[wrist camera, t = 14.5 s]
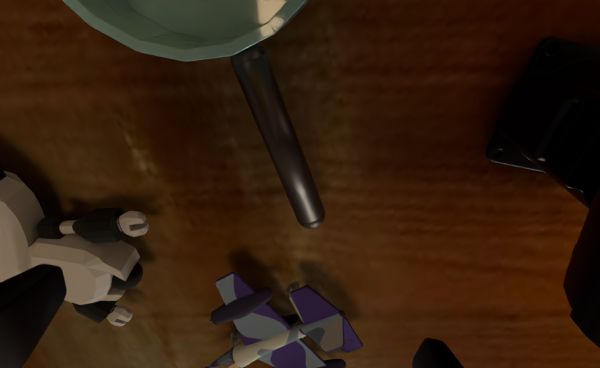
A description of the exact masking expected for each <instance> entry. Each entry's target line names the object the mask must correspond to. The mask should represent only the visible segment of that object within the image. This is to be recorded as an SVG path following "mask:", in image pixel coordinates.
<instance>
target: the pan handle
mask: <svg viewBox="0 0 600 368" xmlns="http://www.w3.org/2000/svg"><path fill="white" fill-rule="evenodd" d="M231 64H232V67H233V69H234V72H235V74H236V76H237V79H238V81H239V84H240V86H241V88H242V91H243V93H244V95H245V98H246V100H247V102H248V105H249V107H250V109H251V112H252V114H253V116H254V119H255V121H256V124H257V126H258V128H259V131H260V133H261V135H262V138H263V140H264V142H265V145H266V147H267V149H268V152H269V154H270V157H271V159H272V161H273V164H274V166H275V168H276V171H277V173H278V175H279V178H280V180H281V182H282V185H283V187H284V189H285V192H286V194H287V197H288V199H289V201H290V204H291V206H292V208H293V211H294V213H295V215H296V218H297V220H298V222H299V223H300V224H301V225H302V226H303V227H305V228H308V229H313V228H316V227H318V226H320V225H321V224H322V223H323V221H324V218H325V210H324V207H323V205H322V202H321V199H320V197H319V194H318V191H317V189H316V186H315V183H314V181H313V178H312V175H311V173H310V170H309V167H308V165H307V162H306V159H305V157H304V154H303V151H302V149H301V146H300V143H299V141H298V138H297V135H296V133H295V130H294V127H293V125H292V122H291V119H290V117H289V114H288V111H287V109H286V106H285V103H284V101H283V98H282V95H281V93H280V90H279V87H278V84H277V82H276V79H275V76H274V74H273V71H272V68H271V66H270V63H269V60H268V58H267V55H266V53H265V50H264V49H263V47H262V46H261V45H260V44H258V43H256V44H254V45H252V46H250V47H249V48H247V49H245V50H243V51H241V52H239V53H237V54H235V55H232V56H231Z"/></svg>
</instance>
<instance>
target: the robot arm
mask: <svg viewBox="0 0 600 368" xmlns="http://www.w3.org/2000/svg"><path fill="white" fill-rule="evenodd" d="M552 44H553V45H554V48H553V50H552V52H550V53H549V54H547V48H548V47H549V46H550V45H552ZM496 127H497V129H496V131H495V133H494V135H493V137H492V139H491V141H490V143H489V145H488V147H487V149H486V152H485V153H486V156H487V157H488V158H489V159H490V160H491V161H493V162H497V163H502V164H506V165H511V166H516V167H521V168H526V169H531V170H535V171H540V172H545V173H547V174H548V175H549V176H550V177H552V178H553V179H554V180H555V181H556V182H558V183H559V184H560V185H561V186H562V187H564V188H565V189H566V190H567V191H568V192H570V193H571V194H572V195H573V196H574V197H575V198H577V199H578V200H579V201H580V202H581V203H583V204H584V205H585V206H586V207H587V208H589V212H588V215H587V217H586V220H585V223H584V225H583V228H582V231H581V233H580V236H579V239H578V241H577V244H576V245H575V247H574V249H573V252H572V257H571V260H570V263H569V265H568V268H567V271H566V275H565V279H564V284H563V287H564V290H565V292H566V295H567V298H568V301H569V304H570V306H571V308H572V312H571V314H570V316H571V318H572V320H573V321H574V322H575V323H576V324H577V326H578V327H579V328H580V329H581V331H582V332H583V333H584V334H585V335H586V336H587V337H588V338H589V339H590V340H591V341H592V342H593V343H595V344H596V345H597V346H598V347H599V348H600V47H597V46H592V45H587V44H583V43H578V42H573V41H569V40H564V39H559V38H554V37H549V38H546V39H544V40H543V41H542V42H541V43H540V44H539V45H538V47H537V49H536V51H535V53H534V55H533V57H532V59H531V61H530V63H529V65H528V67H527V69H526V71H525V73H524V75H523V77H522V78H520V79H519V80H518V81H517V83H516V85H515V87H514V89H513V91H512V93H511V95H510V97H509V99H508V101H507V103H506V105H505V107H504V109H503V111H502V113H501V115H500V117H499V119H498V121H497V123H496ZM496 150H500V151H499V153H498V154H496V155H493V153H494V151H496ZM66 293H67V288H66V283H65V279H64V275H63V270H62V268H61V267H59V266H55V265H50V264H39V265H37V266H35V267H33V268H30V269H28V270H26V271H24V272H22V273H20V274H17V275H15V276H13V277H11V278H9V279H7V280H4V281H2V282H0V368H22V367H23V365H24V364H25V362H26V361H27V360H28V358H29V356H30V355H31V353H32V352H33V350H34V349H35V347H36V345H37V344H38V342H39V340H40V339H41V337H42V335H43V334H44V332H45V331H46V329H47V327H48V326H49V324H50V322H51V321H52V319H53V317H54V316H55V314H56V312H57V311H58V309H59V307H60V306H61V304H62V303H63V301H64V299H65V297H66ZM412 368H464V367H463V366H462V365H461V363H460V362H459V361H458V359H457V358H456V357H455V356H454V354H453V353H452V352H451V350H450V349H449V348H448V347H447V345H446V344H445V343H444V342H443V341H441V340H437V339H432V338H426V339H424V340H423V342H422V344H421V345H420V347H419V349H418V351H417V352H416V354H415V356H414V358H413V364H412Z"/></svg>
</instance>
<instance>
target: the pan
mask: <svg viewBox="0 0 600 368" xmlns="http://www.w3.org/2000/svg"><path fill="white" fill-rule="evenodd" d="M62 1H63V2H64V3H66V4H67V5H68V6H69V7H70V8H71V9H72V10H73V11H74V12H75V13H76V14H78V15H79V16H80V17H81V18H82V19H83V20H84V21H85V22H86V23H87V24H88V25H91V27H93V28H95V29H97V30H98V31H100V32H102V33H104V34H106V35H108V36H110V37H111V38H113V39H115V40H117V41H119V42H121V43H122V44H124V45H126V46H128V47H130V48H132V49H134V50H135V51H138V52H141V53H146V54H150V55H155V56H160V57H165V58H170V59H174V60H179V61H184V62H185V61H187V62H189V61H197V60H205V59H212V58H220V57H228V56H232V55H235V54H237V53H239V52H241V51H243V50H245V49H247V48H249V47H250V46H252V45H254V44H256V43H258V42H260V41H262V40H264V39H266V38H268V37H270V36H271V35H273V34H275V33H277V32H278V31H280V30H281V29H282V28H284V27H285V26H287V25H288V24H289V23H290V21H291V20H292V19H293V18H294V17H295V16H296V15H297V14H298V13H299V12H300V11H301V10H302V9H303V8H304V7H305V6H306V4H307V3H308V2H309V1H310V0H62Z"/></svg>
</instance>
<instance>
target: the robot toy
mask: <svg viewBox="0 0 600 368" xmlns="http://www.w3.org/2000/svg"><path fill="white" fill-rule="evenodd" d="M145 221H146V217H145V215H144V214H143V213H142V212H138V211H128V212H125V211H124V210H123V209H122V208H105V209H95V210H93V211H92V212H90V213H88V214H86V215H85V216H83V217H81V218H80V219H78V220H70V221H68V219H67V218H66V217H65V216H64V215H49V216H46V217H45V216H44V214H43V211H42V208H41V206H40V204H39V202H38V200H37V198H36V196H35V195H34V193H33V192H32V191H31V190H30V189H29V188H28V187H27V186H26V185H25V184H24V183H23V181H22V180H21V179H20V178H19V177H18V176H17V175H16V174H13V173H10V172H6V171H3V169H2V168H1V167H0V282H2V281H4V280H7V279H9V278H11V277H13V276H15V275H17V274H20V273H22V272H24V271H26V270H28V269H30V268H33V267H35V266H37V265H39V264H50V265H55V266H59V267H61V268H62V270H63V275H64V279H65V283H66V288H67V293H66V297H65V299H64V300H66V301H69V302H72V304H73V305H74V307H75V309H76V311H77V312H78V313H80V314H82V315H84V316H86V317H88V318H90V319H91V320H93V321H95V322H97V323H100V322H101V321H102V320H103V319H105V317H106V318H107V319H108V321H109V322H110V323H111V324H113V325H117V326H122V325H125V324H126V322H128V321H129V320H130V319H131V318H132V311H131V310H129V309H128V308H127V307H126V306H119V305H115V303H116V302H117V300H118V299H119V298H120V297H121V296H123V294H124V293H125V291H126V289H131V288H133V287H134V286H136V285H137V284H138V283H139V282H140V281H141V279H142V275H143V270H142V267H141V265H140V264H139V263H138V262H137V261H138V259H139V258H140V256H139V254H138V252H137V250H136V248H135V247H133V246H131V245H129V244H128V243H126V242H124V241H122V240H121V239H122V238H124V237H125V236H126V234H127V235H130V236H133V237H136V236H140V235H144V234H146V233H147V231H148V229H149V225H148V223H144V222H145Z"/></svg>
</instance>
